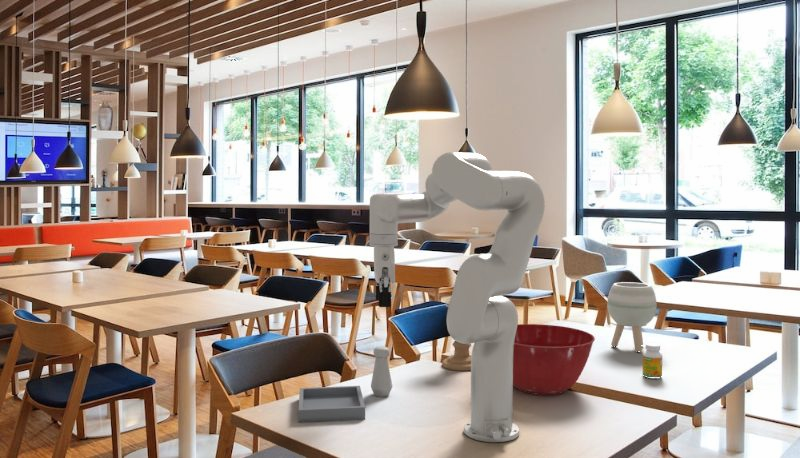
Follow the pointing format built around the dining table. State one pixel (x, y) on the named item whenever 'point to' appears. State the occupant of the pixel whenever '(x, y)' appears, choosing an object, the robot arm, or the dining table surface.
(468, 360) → the candle holder
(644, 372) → the supplement bottle
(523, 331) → the mixing bowl
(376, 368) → the salt shaker
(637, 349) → the planter
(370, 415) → the dining table surface
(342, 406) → the tray
